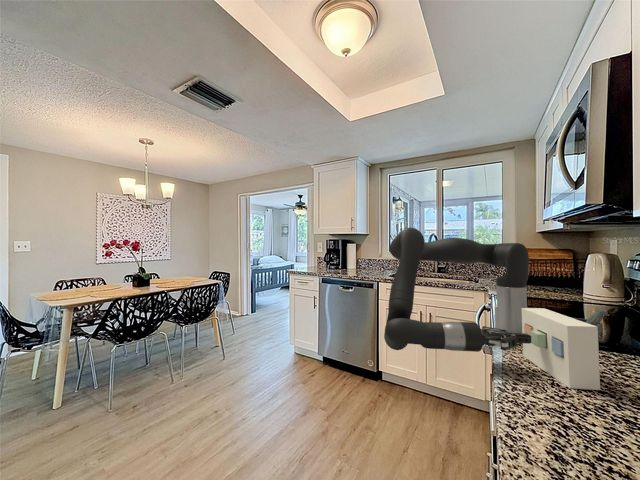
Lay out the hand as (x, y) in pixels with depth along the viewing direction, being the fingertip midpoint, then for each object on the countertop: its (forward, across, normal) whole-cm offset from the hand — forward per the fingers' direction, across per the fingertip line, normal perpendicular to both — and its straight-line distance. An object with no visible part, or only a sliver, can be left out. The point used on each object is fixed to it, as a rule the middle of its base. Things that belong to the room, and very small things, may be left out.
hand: (529, 338), depth 73 cm
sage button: (+2, 0, +2) cm, 2 cm away
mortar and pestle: (+29, +24, +8) cm, 38 cm away
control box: (+6, 0, +8) cm, 10 cm away
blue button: (+4, -6, +2) cm, 7 cm away
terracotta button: (+4, +6, +2) cm, 7 cm away
